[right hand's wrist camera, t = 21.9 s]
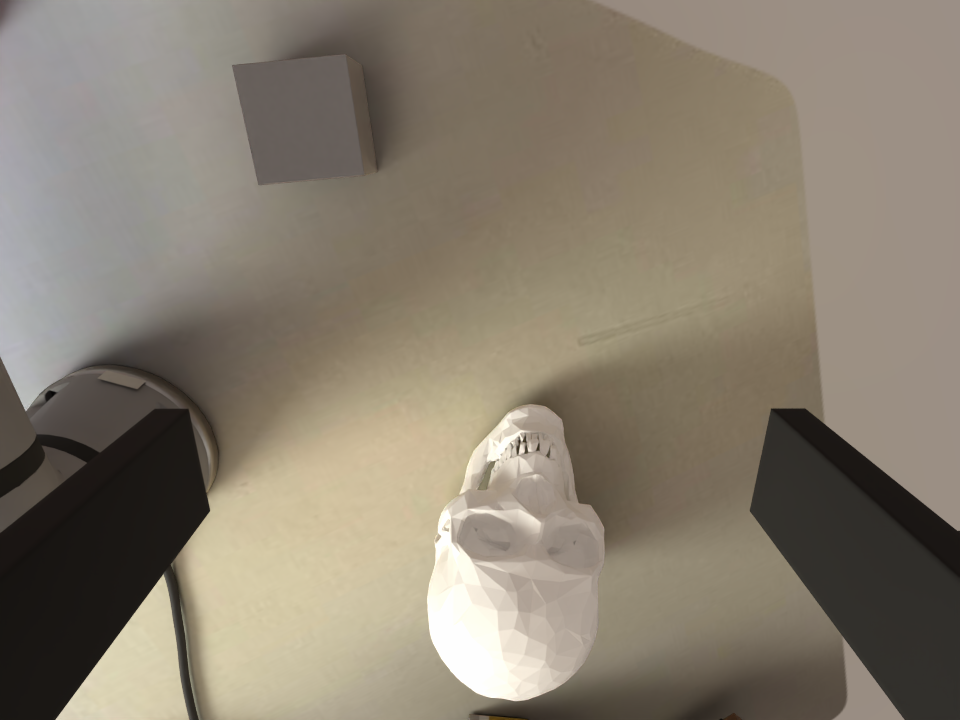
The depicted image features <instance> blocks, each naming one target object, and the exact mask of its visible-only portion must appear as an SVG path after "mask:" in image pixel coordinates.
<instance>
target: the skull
mask: <svg viewBox="0 0 960 720" xmlns="http://www.w3.org/2000/svg"><path fill="white" fill-rule="evenodd" d="M531 435H532V439H531ZM537 436H538V438H539V440H538V439H537ZM524 437H526V442H527V441H528V442H527V443H526V442H522V441H523V439H524ZM520 439H521V443H520V449H519V455H517V452H516V448H517V447H518V446H519V444H518V440H520ZM543 439H544V440H543ZM538 443H540V451H536V449H537V446H538ZM526 444H527V448H528V452H529V453H527V454H524V452H525V446H526ZM512 445H513V446H514V448H513V446H512ZM512 448H513V449H512ZM549 448H550V457H549V458H548V457H546V455H547V453H548V451H549ZM492 461H496V462H495V465H494V468H493V469H492V471H491V475H490V477H491V478H490V480H489V483H488V486H487V490H478V487H479V486H480V484H481V483H482V481H483V478H484V476H485V474H486V471H487V469H488V466H489V464H490V462H492ZM434 540H435V547H436V564H435V567H434V570H433V574H432V577H431V580H430V583H429V591H428V599H427V604H428V616H429V628H430V634H431V638H432V641H433V643H434V645H435V647H436V649H437V651H438V653H439V655H440V657H441V659H442V660H443V661H444V662H445V664H446V665H447V666H448V668H449V669H450V670H451V672H452V673H453V674H454V675H455V676H456V677H457V678H458V679H459V680H460V681H461V682H462V683H464V684H465V685H466V686H468V687H469V688H471V689H472V690H473V691H475V692H476V693H478V694H481V695H484V696H487V697H490V698H503V699H508V700H512V701H521V700H528V699H531V698H534V697H536V696H539V695H542V694H544V693H546V692H548V691H551V690H553V689H555V688H557V687H558V686H560V685H562V684H563V683H565V682H566V681H567V680H568V679H569V678H570V677H572V676H573V675H574V674H575V673H576V672H577V670H578V669H579V668H580V667H581V666H582V665H583V663H584V662H585V661H586V659H587V657H588V655H589V652H590V650H591V648H592V646H593V644H594V641H595V637H596V633H597V630H598V623H599V619H598V577H599V575H600V572H601V570H602V567H603V564H604V557H605V546H604V527H603V525H602V523H601V521H600V519H599V517H598V516H597V514H596V513H595V511H594V509H593V508H592V506H591V505H587V504H580V503H578V499H577V495H576V491H575V483H574V474H573V468H572V463H571V459H570V454H569V451H568V449H567V446H566V443H565V439H564V427H563V422H562V419H561V418H559V417H558V416H557V415H556V414H555V413H554V412H553V411H552V410H550V409H549V408H547V407H545V406H541V405H534V404H528V405H523V406H519V407H517V408H515V409H513V410H511V411H509V412H508V413H507V414H506V416H505V417H504V418H503V419H502V420H501V422H500V423H499V424H498V425H497V426H496V427H495V428H494V429H493V430H492V431H491V432H490V434H489V435H488V436H487V437H486V438H485V439H484V440H483V441H482V442H481V443H480V444H479V445H478V447H477V448H476V449H475V450H474V452H473V454H472V456H471V458H470V461H469V464H468V466H467V471H466V476H465V480H464V484H463V486H462V489H461V491H460V494H459V495H458V496H457V497H455V498H453V499H452V500H451V501H450V502H449V503H448V504H447V505H446V507H445V508H444V510H443V512H442V513H441V516H440V520H439V523H438V534H437V535H436V537H435V538H434Z"/></svg>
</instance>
